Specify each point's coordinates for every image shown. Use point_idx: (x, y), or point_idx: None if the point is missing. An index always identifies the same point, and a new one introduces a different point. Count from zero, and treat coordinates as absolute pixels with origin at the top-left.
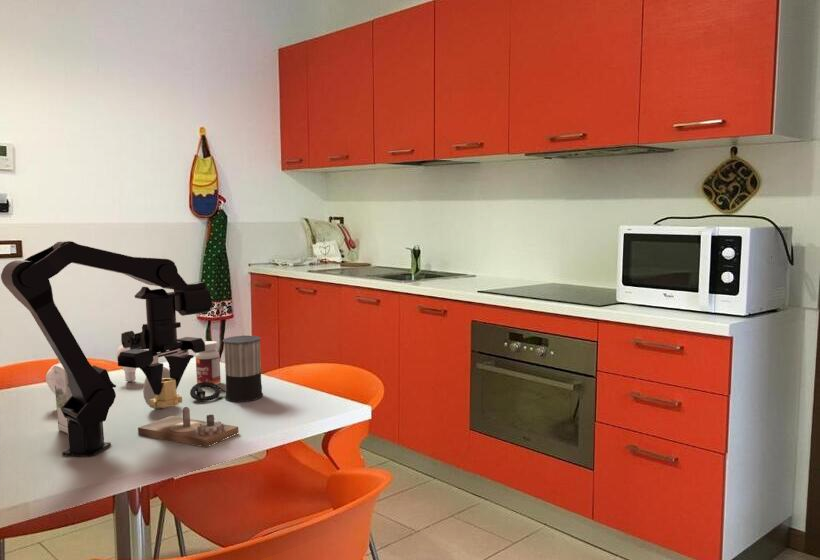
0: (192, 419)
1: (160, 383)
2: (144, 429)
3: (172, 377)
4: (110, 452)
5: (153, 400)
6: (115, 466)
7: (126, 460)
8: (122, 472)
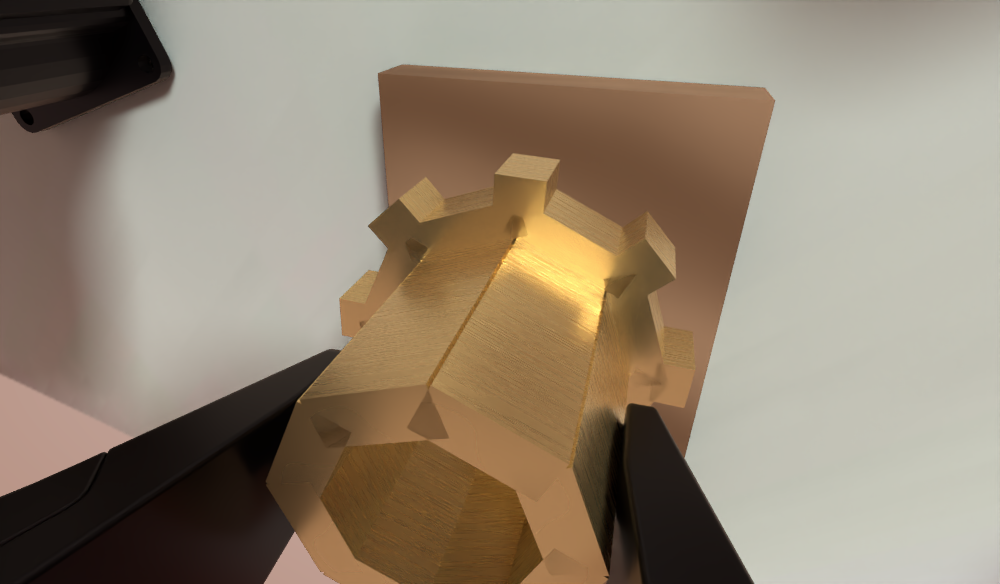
0: (708, 347)
1: (259, 561)
2: (386, 149)
3: (621, 571)
4: (133, 165)
5: (376, 278)
6: (88, 324)
7: (145, 321)
8: (88, 387)
